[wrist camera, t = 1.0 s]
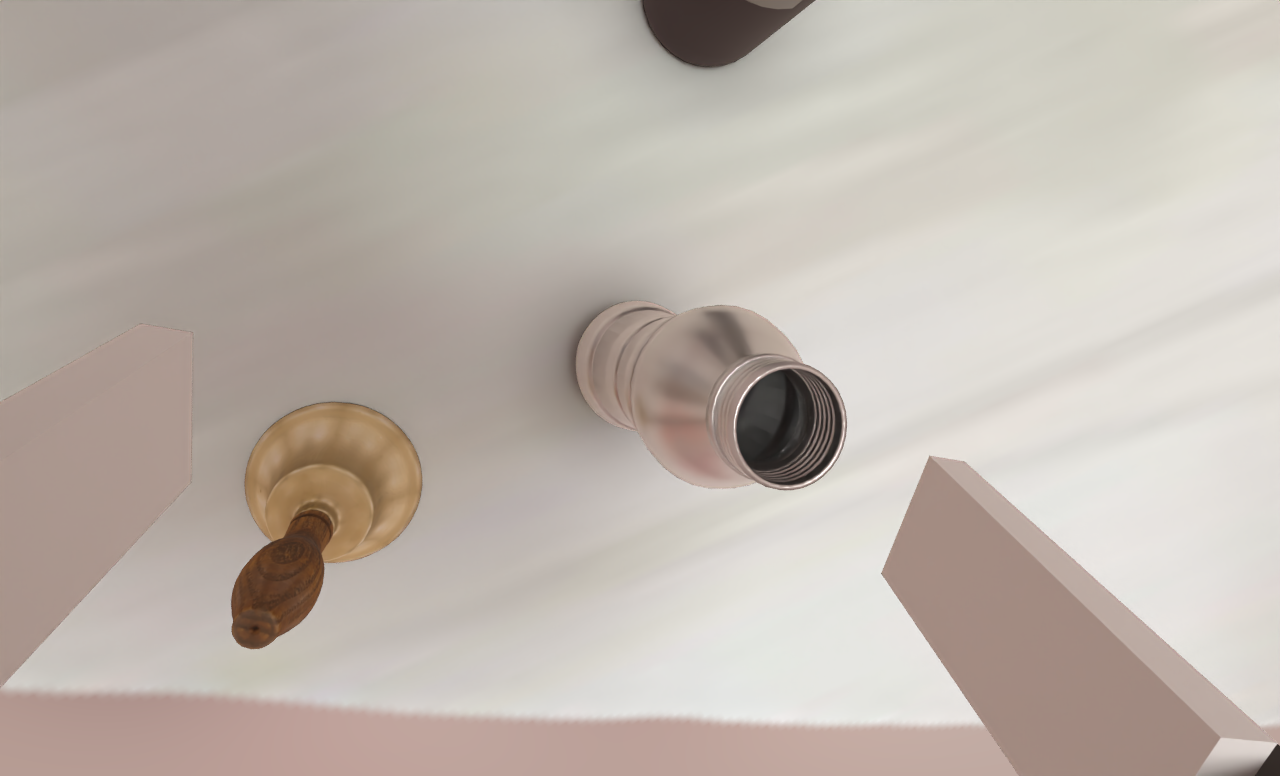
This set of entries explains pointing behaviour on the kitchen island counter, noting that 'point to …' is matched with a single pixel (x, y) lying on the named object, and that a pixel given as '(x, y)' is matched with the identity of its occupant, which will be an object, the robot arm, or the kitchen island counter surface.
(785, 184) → the kitchen island counter surface
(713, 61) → the wine bottle
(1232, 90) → the kitchen island counter surface
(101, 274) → the kitchen island counter surface
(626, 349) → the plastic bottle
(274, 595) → the hand bell
